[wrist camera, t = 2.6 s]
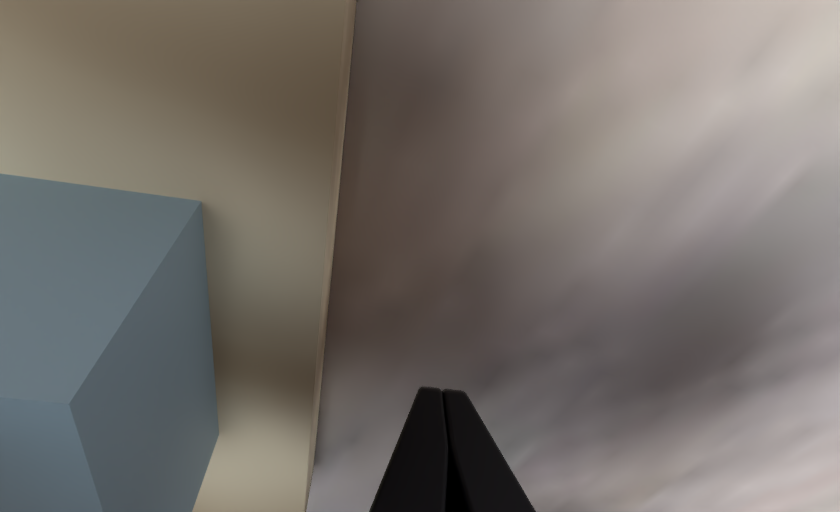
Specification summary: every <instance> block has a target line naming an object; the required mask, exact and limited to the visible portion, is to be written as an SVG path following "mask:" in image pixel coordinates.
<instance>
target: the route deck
mask: <svg viewBox="0 0 840 512" xmlns="http://www.w3.org/2000/svg"><path fill="white" fill-rule="evenodd" d="M356 2H357V0H0V174H8V175H15V176H22V177H30V178H37V179H44V180H51V181H59V182H66V183H73V184H81V185H88V186H95V187H102V188H110V189H117V190H124V191H132V192H139V193H146V194H154V195H161V196H168V197H175V198H183V199H190V200H197V201H201V204H202V217H203V230H204V243H205V256H206V269H207V282H208V295H209V309H210V322H211V335H212V348H213V361H214V374H215V387H216V400H217V414H218V427H219V436H218V439H217V442H216V445H215V447H214V450H213V453H212V456H211V459H210V462H209V465H208V468H207V470H206V473H205V476H204V479H203V482H202V485H201V488H200V490H199V493H198V496H197V499H196V502H195V505H194V508H193V511H192V512H306V509H307V503H308V497H309V491H310V486H311V480H312V474H313V468H314V458H315V447H316V437H317V426H318V415H319V404H320V393H321V382H322V371H323V361H324V350H325V339H326V328H327V317H328V306H329V295H330V285H331V274H332V263H333V252H334V241H335V230H336V219H337V209H338V198H339V187H340V176H341V165H342V154H343V143H344V133H345V122H346V111H347V100H348V89H349V78H350V67H351V56H352V46H353V35H354V24H355V13H356Z"/></svg>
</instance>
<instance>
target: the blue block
mask: <svg viewBox="0 0 840 512" xmlns="http://www.w3.org/2000/svg"><path fill="white" fill-rule="evenodd" d="M218 436H219V427H218V414H217V400H216V387H215V374H214V361H213V348H212V335H211V322H210V309H209V295H208V282H207V269H206V256H205V243H204V230H203V217H202V204H201V201H197V200H190V199H183V198H175V197H168V196H161V195H154V194H146V193H139V192H132V191H124V190H117V189H110V188H102V187H95V186H88V185H81V184H73V183H66V182H59V181H51V180H44V179H37V178H30V177H22V176H15V175H8V174H0V512H192V511H193V508H194V505H195V502H196V499H197V496H198V493H199V490H200V488H201V485H202V482H203V479H204V476H205V473H206V470H207V468H208V465H209V462H210V459H211V456H212V453H213V450H214V447H215V445H216V442H217V439H218Z"/></svg>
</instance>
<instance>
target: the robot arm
mask: <svg viewBox="0 0 840 512" xmlns="http://www.w3.org/2000/svg"><path fill="white" fill-rule="evenodd" d="M369 512H536V511H535V510H534V508H533V506H532V505H531V503H530V501H529V499H528V498H527V496H526V494H525V493H524V491H523V489H522V488H521V486H520V484H519V482H518V481H517V479H516V477H515V476H514V474H513V472H512V471H511V469H510V467H509V465H508V464H507V462H506V460H505V459H504V457H503V455H502V453H501V452H500V450H499V448H498V447H497V445H496V443H495V442H494V440H493V438H492V436H491V435H490V433H489V431H488V430H487V428H486V426H485V425H484V423H483V421H482V419H481V418H480V416H479V414H478V413H477V411H476V409H475V408H474V406H473V404H472V402H471V401H470V399H469V397H468V396H467V394H466V393H465V392H464V391H461V390H452V389H444V390H443V391H441V389H440V388H434V387H425V386H422V387H420V388H419V390H418V392H417V394H416V397H415V399H414V402H413V404H412V407H411V409H410V412H409V414H408V417H407V419H406V422H405V424H404V427H403V429H402V432H401V434H400V437H399V439H398V442H397V444H396V446H395V449H394V451H393V454H392V456H391V459H390V461H389V464H388V466H387V469H386V471H385V474H384V476H383V479H382V481H381V484H380V486H379V489H378V491H377V494H376V496H375V499H374V501H373V503H372V506H371V508H370V511H369Z"/></svg>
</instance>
